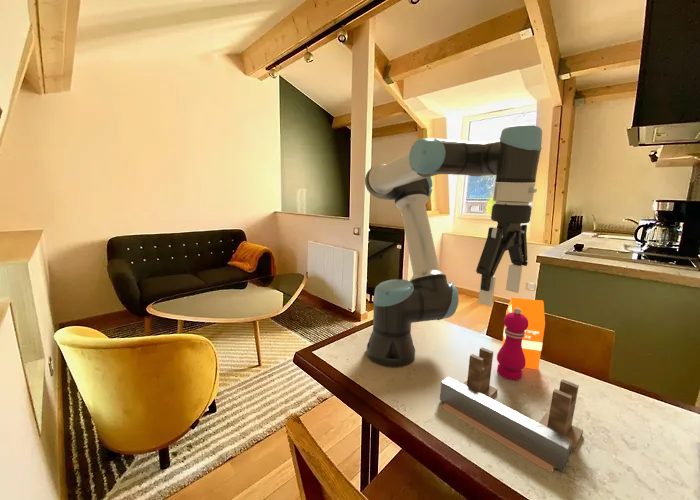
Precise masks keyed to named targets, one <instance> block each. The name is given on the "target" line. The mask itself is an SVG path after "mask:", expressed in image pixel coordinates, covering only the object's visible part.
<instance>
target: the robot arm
mask: <svg viewBox="0 0 700 500" xmlns="http://www.w3.org/2000/svg"><path fill="white" fill-rule="evenodd" d="M542 139H543V129H542V128H541V127H540V126H539V125H535V124H533V125H531V124H519V125H510V126H507V127H505V128H504V129H502V130H501V134H500V137H499V140H494V141H488V142H487V141H472V140H470V141H469V140H455V139H444V138H437V137H427V138H426V137H425V138H424V137H423V138H418V139H416V140H415V141H414V142H413V145H411V147H410V150H409V152H407V153H406V154H403V155H401V156H399V157H397V158H395V159H393V160H391V161H389V162H387V163H379V164H377V165H374V166H372V167H371V168H370V169H369V170H368V171H367V172H366V175H365V178H364V184H365V188H366V190H367V192H368V193H369V194H370V195H372V196H373V197H375V198H376V199H380V200H385V201H387V200H391V201H393V202H394V205H395V208H396V209H398V210H399V211H400V213H401V218H402V223H403V230H404V234H405V238H406V239H405V240H406V244H407V245H406V246H407V249H408V255H409V260H410V264H411V270H412V276H411V279H410V280H407V279H403V278H401V279H398V278H397V279H389V280H385V281H384V280H383V281H382V282H380V283H378V284H377V285H376V286H375V289H374V292H373V293H374V295H373V314H372V315H373V318H372V319H373V320H372V325H373V326H372V331H371V334H370V337H369V339H368V342H367V345H366V355H367V357H368V359H369V360H370V361H372V362H373V363H375V364H377V365H379V366H383V367H387V368H402V367H406V366H408V365H410V364H412V363H413V362H414V360H416V359H415V358H416V348H415V346H414V343H413V337H412V335H411V333H412V332H411V329H412V323H420V322H421V323H422V322H428V321H440V320H443V319H448V318H451V317H453V316H454V314H455V313H456V312H457V309H458V306H459V300H460V298H459V296H460V295H459V292H458V289H457V287H456V285H455V283H453V282H452V281H448V279H447V274H446V273H444V272H443V271H441V270H440V266H439V261H438V257H437V252H436V248H435V243H434V242H435V241H434V239H433V233H432V230H431V225H430V221H429V215H428V211H427V206H426V204H427V203H428V202H429V198H430V196H431V195H432V191H433V189H432V187H433V181H432V177H435V176H437V175H452V176H453V175H459V176H469V177H483V176H495V182H494V190H493V198H492V200H493V201H494V202H495V203H493V205H492V207H491V216H490V219H491V221H492V222H497V225H496V227H493V226H492V227H491V226H490V227H488V232H487V236H486V239H485V240H486V241H485V243H484V245H483V249H482V253H481V255H480V258H479V260H478V263H477V266H476V270H475V271H476V274H479V275H481V276H480V286H479V293H478V304H481V305H485V306H488V307H491V308H492V306H493V302H494V295H495V288H496V287H495V286H496V281H497V280H496V278H497V276H496V275H495V273H496V272H497V269H498V268H499V265H500V263H501V260H502V258H503V256H504V254H505V252H506V251H508V255H509V258H510V263H509V264H508V270H507V278H506V287H505V290H506V291H509V292H512V293H516V294H518V293H519V292H520V284H521V280H522V279H521V278H522V272H523V266H524V267H527V266H528V265H529V264H528V262H529V261H528V242H527V239H528V238H527V230H528V225H527V224H529V223H530V221H531V215H532V210H533V207H532V205H530V203H532V202H533V200H534V194H535V193H537V191H538V189H537V188H536V182H537V181H536V180H537V173H538V168H539V167H538V166H539V163H540V162H539V161H540V155H541V151H542V149H543V148H542V142H543V140H542Z"/></svg>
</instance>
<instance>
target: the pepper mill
mask: <svg viewBox="0 0 700 500" xmlns="http://www.w3.org/2000/svg"><path fill="white" fill-rule="evenodd" d="M503 324H504V326H506V328H505V331H504V330H503V333H505V334H506V339H505V342H504V344H503V346H502V345H501V347H500V349H499V351H498V352H497V355H496V360H497V362H498V364H497V368H496V371H497V374H498V375H500V376H501V377H502V378H504V379H506V380H509V381H520V380H521V379H522V378H523V370H524V369H525V368H526V367H525V365H526V360H525V356H524V353H523V350H522V339H523V338H524V337H525V330H526V329H527V328H528V319H527V318H526V317H525V316H524V315H523V314H521V310H520V309H519V308H515V309H514V312H511V313H508V314H507V315H506V314H505V316H504V318H503Z"/></svg>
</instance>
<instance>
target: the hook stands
mask: <svg viewBox="0 0 700 500" xmlns="http://www.w3.org/2000/svg"><path fill="white" fill-rule="evenodd" d="M469 355H470V356H469V361H468V369H467V370H468V371H467V380H465V382H463V383H462V384H464V385H465V386H467V387H469V388H471V389H473V390H475V391H477V392H479V393H481V394H483V395H485V396H487V397H489V398H491V399H493V398H494V397H495V396H497V395H498V390H499V389H498V388H496V387H493V386H491V374H492V368H493V367H492V366H493V357H494V351H492V350H490V349H487V348H485V347H480V348H479V353H478V355H476V354H474V353H471V354H469ZM579 387H580V385H579V384H576V383H574V382H571V381H569V380H565V379H563V378H562V379H561V380H560V382H559V389H557V388H554V389H553V390H552V394H551V395H552V396H551V402H550V408H549V413H547V412H545V413H544V414H543V416H542V418H541V419H540V421H539V422H538V423H540V424H542V425H544V426H546V427H548V428H550V429H552V430H554V431H556V432H558V433H560V434H562V435H564V436H566V437H568V438H570V439H571V440H572V445H571V450H570V453H572V454H574V453H575V451H576V449H577V447H578V444H579V443H580V440H581V438H582V436H583V434H584V433H583V432H584V430H583V429H581V428H579V427H578V426H575V425H573V421H574V420H573V419H574V413H575V408H576V404H577V397H578V392H579Z"/></svg>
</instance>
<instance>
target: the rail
mask: <svg viewBox="0 0 700 500" xmlns="http://www.w3.org/2000/svg"><path fill="white" fill-rule="evenodd" d="M439 394H440V395H439V401H441V402H442V403H443V404H445V403H446V404H447V405H449V406H451V407H453V408H454V409H456V410H458V411H459V412H461V413H463V414H464V415H466V416H468V417H470V418H471V419H473V420H475V421H476V422H478V423H480V424H482V425H483V426H485V427H487V428H488V429H490V430H492V431H494V432H495V433H497V434H499V435H500V436H502V437H504V438H506V439H507V440H509V441H511V442H512V443H514V444H516V445H518V446H519V447H521V448H523V449H524V450H526V451H528V452H530V453H531V454H533V455H535V456H536V457H538V458H540V459H541V460H543V461H545V462H547V463H548V464H550V465H552V466H553V467H554V469H555V468H556V469H557V470H559V471H561V472H562V473H564V472H565V470H566V468H567V466H568V464H569V460H570V457H571V456H570V455H571V452H570V450H571V445H572V440H571V439H570V438H568V437H566V436H564V435H562V434H560V433H558V432H556V431H554V430H552V429H550V428H548V427H546V426H544V425H542V424H540V423H539V422H538V421H536V420H534V419H532V418H530V417H528V416H526V415H524V414H522V413H520V412H518V411H517V410H514V409H513V408H510V407H508V406H506V404H505V405H504V404H503V403H501V402H499V401H497V400H494V399H493V398H492V399H491V398H489V397H487V396H485V395H483V394H481V393H479V392H477V391H475V390H473V389H471V388H469V387H467V386H465V385H464V384H463V383H461V382H459V381H458V380H456V379H454V378H453V377H450V376H447V377H446V378H444V379H443V380H441V382H440V393H439Z"/></svg>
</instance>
